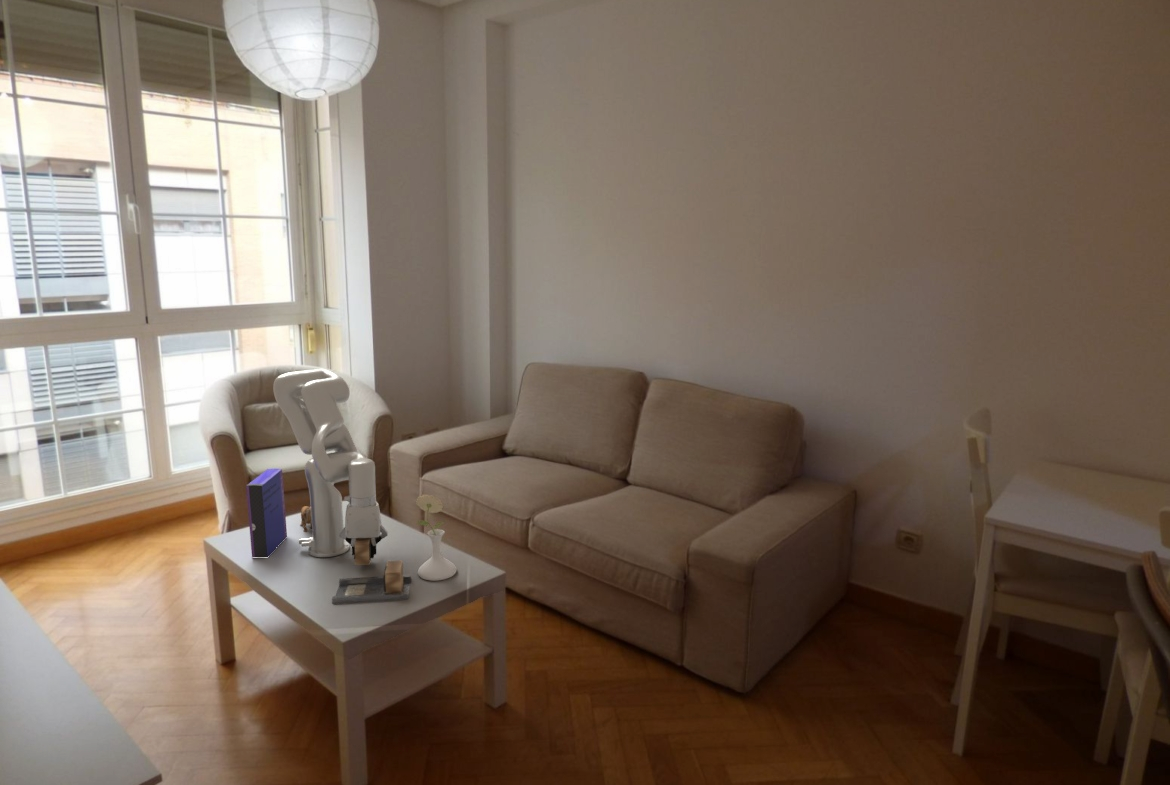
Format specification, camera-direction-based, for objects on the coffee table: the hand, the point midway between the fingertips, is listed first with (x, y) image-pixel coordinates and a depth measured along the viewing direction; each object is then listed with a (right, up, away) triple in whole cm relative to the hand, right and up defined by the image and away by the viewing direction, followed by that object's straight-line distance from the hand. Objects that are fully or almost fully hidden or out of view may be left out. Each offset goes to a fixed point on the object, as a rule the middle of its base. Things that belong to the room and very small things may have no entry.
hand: (364, 556), depth 228 cm
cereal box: (-36, -1, +17) cm, 39 cm away
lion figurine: (-29, +2, +34) cm, 45 cm away
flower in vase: (+22, -5, -3) cm, 23 cm away
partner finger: (+13, -6, -15) cm, 21 cm away
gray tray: (+7, -7, -16) cm, 19 cm away
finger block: (0, -1, 0) cm, 1 cm away
